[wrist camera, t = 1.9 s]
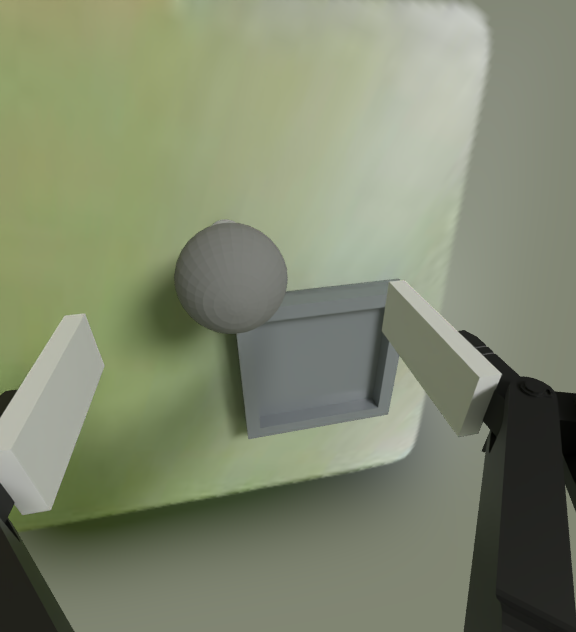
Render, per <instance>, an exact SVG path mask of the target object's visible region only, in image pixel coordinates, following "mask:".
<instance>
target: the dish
mask: <svg viewBox="0 0 576 632" xmlns="http://www.w3.org/2000/svg"><path fill="white" fill-rule="evenodd" d="M390 281H400V279H393V280H384V281H375V282H366V283H358V284H349V285H340V286H331V287H322V288H313V289H304V290H295V291H287V292H286V293H285V296H284V299H283V301H282V303H281V305H280V307H279V308H278V310H277V311H276V313H275V314H274V315H273V316H272V317H271V318H270V319H269V320H268V321H267V322H265V323H264V324H263V325H261V326H259V327H257V328H256V329H254V330H251V331H248V332H244V333H238V334H236V338H237V347H238V356H239V364H240V373H241V382H242V391H243V400H244V409H245V417H246V425H247V432H248V439H252V438H258V437H263V436H269V435H275V434H280V433H286V432H292V431H297V430H303V429H308V428H314V427H320V426H325V425H331V424H337V423H342V422H348V421H353V420H359V419H365V418H370V417H376V416H382V415H387V414H388V412H389V407H390V401H391V396H392V391H393V386H394V380H395V375H396V370H397V365H398V360H399V354H398V353H397V351H396V350H395V349H394V347H393V346H392V345H391V343H390V342H389V340H388V339H387V338H386V336H385V335H384V333H383V332H382V325H383V318H384V312H385V305H386V298H387V292H388V285H389V282H390Z"/></svg>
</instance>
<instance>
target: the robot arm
mask: <svg viewBox="0 0 576 632" xmlns="http://www.w3.org/2000/svg"><path fill="white" fill-rule="evenodd" d="M382 332H383V333H384V335H385V336H386V338H387V339H388V340H389V342H390V343H391V345H392V346H393V347H394V349H395V350H396V351H397V353H398V354H399V356H400V357H401V358H402V360H403V361H404V363H405V364H406V365H407V367H408V368H409V369H410V371H411V372H412V374H413V375H414V376H415V378H416V379H417V381H418V382H419V383H420V385H421V386H422V387H423V389H424V390H425V392H426V393H427V394H428V396H429V397H430V399H431V400H432V401H433V403H434V404H435V405H436V407H437V408H438V410H439V411H440V412H441V414H442V415H443V416H444V418H445V419H446V421H447V422H448V423H449V425H450V426H451V427H452V429H453V430H454V432H455V433H456V434H457V436H458V437H462V436H467V435H473V434H478V433H479V431H480V428H481V425H482V423H483V422H484V423H485V424H486V425H487V426H488V428H489V429H490V432H489V435H488V437H487V439H486V442H485V444H484V446H483V449H482V451H483V452H486V453H485V454H486V455H485V462H484V470H483V478H482V486H481V494H480V503H479V511H478V519H477V527H476V536H475V543H474V552H473V560H472V568H471V576H470V584H469V592H468V601H467V609H466V617H465V625H464V632H576V610H575V600H574V599H575V598H574V586H573V574H572V563H571V551H570V541H569V540H570V539H569V527H568V516H567V504H566V494H565V493H566V492H565V485H566V488H567V490H568V493H569V495H570V498H571V501H572V503H573V506H574V508H575V510H576V393H565V392H555V391H554V390H553V389H552V388H551V387H550V386H548V385H547V384H545V383H544V382H542V381H539V380H537V379H534V378H530V377H520V376H519V375H518V374H517V373H516V372H515V371H514V370H512V369H511V368H510V367H509V366H508V365H507V364H506V363H505V362H504V361H503V360H502V359H501V358H500V357H498V356H497V355H496V354H494V353H493V351H492V350H491V349H490V348H489V347H486V345H485V344H484V343H483V342H482V341H481V340H480V339H479V338H478V337H476V336H474V335H473V334H470V333H469V332H467V331H465V330H462V331H457V330H456V329H455V328H454V327H453V326H452V325H451V324H450V323H449V322H447V320H445V319H444V318H443V317H442V316H441V315H440V314H439V313H438V312H437V311H436V310H435V309H434V308H433V307H432V306H431V305H430V304H429V303H428V302H427V301H426V300H425V299H424V298H423V297H422V296H421V295H420V294H419V293H418V292H416V291H415V290H414V289H413V288H412V287H411V286H410V285H409V284H408V283H407V282H406V281H405V280H400V281H390V282H389V285H388V292H387V298H386V305H385V312H384V318H383V325H382ZM103 369H104V363H103V361H102V358H101V355H100V353H99V350H98V347H97V344H96V342H95V339H94V336H93V334H92V331H91V328H90V326H89V323H88V320H87V318H86V315H85V314H76V315H66V316H64V317H63V319H62V321H61V322H60V324H59V325H58V327H57V329H56V330H55V332H54V333H53V335H52V337H51V338H50V340H49V341H48V343H47V344H46V346H45V348H44V349H43V351H42V352H41V354H40V356H39V357H38V359H37V360H36V362H35V364H34V365H33V367H32V368H31V370H30V371H29V373H28V375H27V376H26V378H25V379H24V381H23V383H22V384H21V386H20V387H19V389H18V390H11V391H5V392H4V393H3V394H2V395H0V632H74V631H73V629H72V627H71V625H70V623H69V621H68V620H67V618H66V616H65V615H64V613H63V611H62V610H61V608H60V606H59V604H58V602H57V601H56V599H55V597H54V595H53V594H52V592H51V590H50V588H49V587H48V585H47V583H46V582H45V580H44V578H43V576H42V575H41V573H40V571H39V569H38V568H37V566H36V564H35V562H34V561H33V559H32V557H31V555H30V554H29V552H28V550H27V548H26V547H25V545H24V543H23V542H22V540H21V538H20V536H19V535H18V533H17V531H16V529H15V528H14V526H13V524H12V523H11V521H10V520H9V519H8V516H9V514H10V512H11V509H12V507H13V505H14V504H15V506H16V507H17V508H18V510H19V511H20V512H21V514H22V515H26V514H32V513H37V512H43V511H49V510H51V509H52V506H53V503H54V501H55V498H56V495H57V492H58V490H59V487H60V484H61V482H62V479H63V476H64V474H65V471H66V468H67V466H68V463H69V460H70V457H71V455H72V452H73V449H74V447H75V444H76V441H77V439H78V436H79V433H80V431H81V428H82V425H83V422H84V420H85V417H86V414H87V412H88V409H89V406H90V404H91V401H92V398H93V395H94V393H95V390H96V387H97V385H98V382H99V379H100V377H101V374H102V371H103Z"/></svg>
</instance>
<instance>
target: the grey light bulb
mask: <svg viewBox="0 0 576 632" xmlns="http://www.w3.org/2000/svg"><path fill="white" fill-rule="evenodd" d="M174 279H175V289H176V292H177V296H178V298H179V300H180V302H181V304H182V306H183V308H184V309H185V310H186V312H187V313H188V314H189V315H190V317H191V318H193V319H194V320H195V321H196V322H198V323H199V324H200V325H202V326H204V327H206V328H208V329H210V330H213V331H216V332H220V333H226V334H238V333H244V332H248V331H251V330H254V329H256V328H257V327H259V326H261V325H263V324H264V323H265V322H267V321H268V320H269V319H270V318H271V317H272V316H273V315H274V314H275V313H276V311H277V310H278V308H279V307H280V305H281V303H282V301H283V299H284V296H285V293H286V288H287V268H286V265H285V261H284V259H283V257H282V255H281V253H280V251H279V249H278V247H277V246H276V245H275V244H274V243H273V242H272V241H271V239H270V238H269V237H267V236H266V235H265V234H263V233H262V232H261V231H259V230H257V229H255V228H253V227H251V226H248V225H244V224H240V223H235V222H234V221H231V220H226V219H224V220H219V221H216V222H215V223H213V224H212V225H211V226H210V227H207V228H205V229H204V230H202V231H200V232H198V233H197V234H196V235H195V236H194V237H192V238H191V239H190V240H189V241H188V242H187V244H186V245H185V247H184V248H183V249H182V251H181V253H180V256H179V258H178V260H177V263H176V269H175V274H174Z"/></svg>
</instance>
